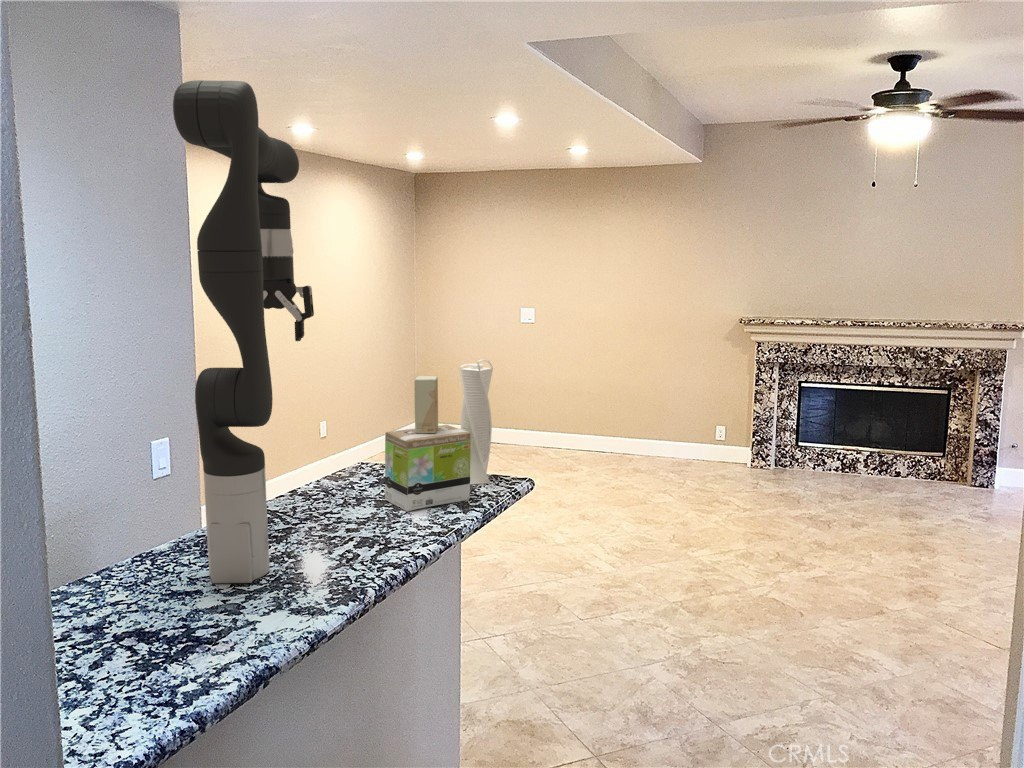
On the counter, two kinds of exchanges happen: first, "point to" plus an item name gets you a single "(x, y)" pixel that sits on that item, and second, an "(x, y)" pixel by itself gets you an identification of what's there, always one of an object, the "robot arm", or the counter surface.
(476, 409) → the skyscraper
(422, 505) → the tea box
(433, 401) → the box
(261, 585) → the counter surface
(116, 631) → the counter surface
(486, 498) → the counter surface
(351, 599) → the counter surface
